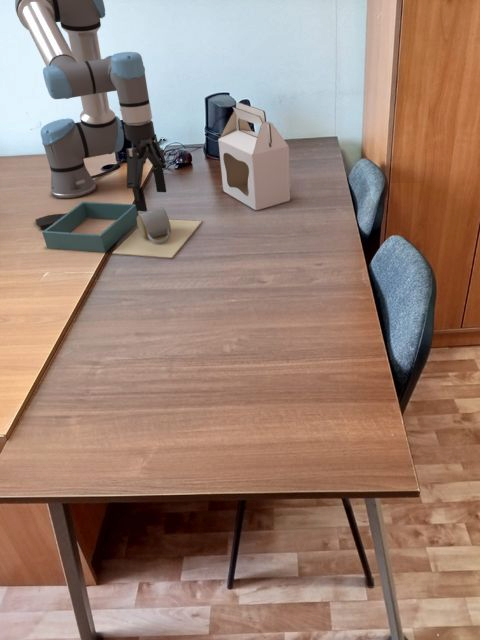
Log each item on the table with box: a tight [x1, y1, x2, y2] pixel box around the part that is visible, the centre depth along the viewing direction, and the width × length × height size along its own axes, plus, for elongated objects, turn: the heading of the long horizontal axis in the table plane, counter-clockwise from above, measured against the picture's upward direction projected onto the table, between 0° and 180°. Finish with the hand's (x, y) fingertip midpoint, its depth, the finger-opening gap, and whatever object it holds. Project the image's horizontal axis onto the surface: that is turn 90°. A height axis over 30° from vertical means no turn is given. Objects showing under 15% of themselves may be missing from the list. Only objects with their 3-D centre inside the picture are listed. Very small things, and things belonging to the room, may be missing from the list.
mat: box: [111, 218, 203, 260], centre depth 156 cm, size 24×18×1 cm
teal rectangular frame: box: [41, 201, 140, 253], centre depth 159 cm, size 23×19×5 cm
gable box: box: [217, 102, 291, 211], centre depth 169 cm, size 22×13×28 cm, turn 32°
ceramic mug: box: [136, 206, 171, 244], centre depth 152 cm, size 11×8×8 cm
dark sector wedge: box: [34, 212, 68, 231], centre depth 169 cm, size 8×14×2 cm, turn 120°
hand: (152, 201), depth 149 cm, fingers open, 13 cm apart
